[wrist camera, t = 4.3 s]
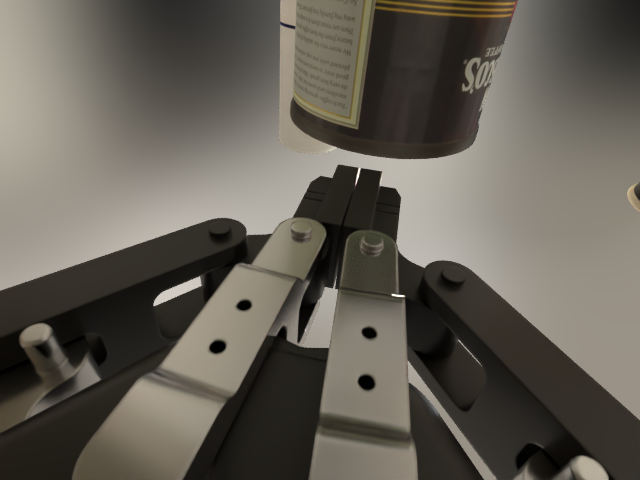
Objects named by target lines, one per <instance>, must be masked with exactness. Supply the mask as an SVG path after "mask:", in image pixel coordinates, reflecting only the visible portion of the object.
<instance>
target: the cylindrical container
mask: <svg viewBox="0 0 640 480" xmlns="http://www.w3.org/2000/svg"><path fill="white" fill-rule="evenodd" d="M280 5H281V8H280V9H281V10H280V118H279V141H280V143H281V144H282V145H283V146H284V147H286V148H287V149H290V150H292V151H296V152H300V153H309V154H316V153H317V154H318V153H325V152H329V151H332V150H334V149H336V148H337V147H334V146H331V145H328V144H326V143H323V142H321V141H318V140H316V139H314V138H312V137H310V136H309V135H307V134H305V133H304V132H302V131H301V130H300V129H299V128H298V127H297V126H296V125H295V124H294V123H293V122H292V119H291V117H290V104H291V100H292V98H293V83H294V56H295V26H296V0H280Z"/></svg>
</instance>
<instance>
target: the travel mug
mask: <svg viewBox="0 0 640 480" xmlns="http://www.w3.org/2000/svg"><path fill="white" fill-rule="evenodd" d="M628 199H629V201H630V203H631V204H632V206H633V207H634V208H635V209H636V210H637V211H639V212H640V182H639V183H637V184H635V185H633V186H632V187H631V188H630V189H629V190H628Z"/></svg>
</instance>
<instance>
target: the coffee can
mask: <svg viewBox="0 0 640 480" xmlns="http://www.w3.org/2000/svg"><path fill="white" fill-rule="evenodd" d="M517 1H518V0H296V26H295V56H294V83H293V98H292V100H291V104H290V117H291V119H292V122H293V123H294V124H295V125H296V126H297V127H298V128H299V129H300V130H301V131H302V132H304V133H305V134H307V135H309V136H310V137H312V138H314V139H316V140H318V141H321V142H323V143H326V144H328V145H331V146H334V147H337V148H340V149H344V150H347V151H351V152H356V153H361V154H365V155H371V156H377V157H386V158H396V159H428V158H438V157H444V156H448V155H452V154H456V153H459V152H462V151H464V150H466V149H467V148H469V147H470V146H471V145H472V144H473V142H474V141H475V138H476V135H477V132H478V128H479V124H478V121H479V118H480V115H481V112H482V108H483V105H484V103H485V99H486V96H487V94H488V90H489V88H490V84H491V81H492V78H493V75H494V72H495V69H496V66H497V63H498V60H499V57H500V54H501V51H502V47H503V44H504V41H505V38H506V35H507V32H508V29H509V26H510V23H511V20H512V17H513V13H514V10H515V8H516V5H517Z"/></svg>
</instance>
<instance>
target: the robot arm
mask: <svg viewBox="0 0 640 480" xmlns="http://www.w3.org/2000/svg"><path fill="white" fill-rule="evenodd" d="M359 171H360V174H359ZM381 177H382V171H375V170H369V169H363V168H361V170H360V168H357V167H351V166H344V165H338V166H337V168H336V171H335V173H334V176H333V178H329V177H323V176H320V177H318V178H317V179H315V180H314V181H312V182H311V183H310V185H309V187H308V189H307V192H306V193H305V195H304V197H303V199H302V201H301V203H300V205H299V207H298V209H297V211H296V213H295V214H294V216H293V218H290V219H287V220H285V221H283V222H281V223H280V224H279V225H278V226H277V228H276V229H275V231H274V232H273V233H272V234H267V235H247V231H246V228H245V226H244V225H243V224H242V223H240V222H239V221H236V220H233V219H228V218H217V219H211V220H208V221H205V222H202V223H199V224H196V225H193V226H190V227H187V228H184V229H181V230H178V231H176V232H172V233H169V234H167V235H164V236H161V237H158V238H155V239H152V240H149V241H146V242H143V243H140V244H137V245H134V246H131V247H128V248H125V249H123V250H120V251H116V252H113V253H111V254H108V255H105V256H102V257H99V258H96V259H93V260H90V261H87V262H84V263H81V264H78V265H75V266H73V267H69V268H66V269H63V270H60V271H57V272H54V273H52V274H49V275H46V276H43V277H40V278H37V279H34V280H31V281H28V282H25V283H22V284H19V285H16V286H13V287H10V288H7V289H4V290H1V291H0V480H484V479H483V478H482V476H481V475H480V473H479V472H478V470H477V469H476V467H475V466H474V464H473V463H472V461H471V460H470V458H469V457H468V456H467V454H466V453H465V451H464V450H463V448H462V447H461V445H460V444H459V442H458V441H457V439H456V438H455V437H454V435H453V434H452V432H451V431H450V429H449V428H448V426H447V425H446V423H445V422H444V420H443V419H442V418H441V416H440V415H439V413H438V412H437V410H436V409H435V408H434V406H433V405H432V404H431V403H430V401H429V400H428V399H427V398H426V397H425V396H424V395H423V394H422V393H421V392H420V391H419V390H418V389H417V388H416V387H414V386H413V385H412V384H410V383H409V382H408V361H409V362H410V363H411V365H412V366H413V368H414V369H415V370H416V371H417V373H418V374H419V376H420V377H421V378H422V380H423V381H424V382H425V384H426V385H427V386H428V388H429V389H430V390H431V392H432V393H433V394H434V396H435V397H436V398H437V400H438V401H439V402H440V404H441V405H442V407H443V408H444V409H445V410H446V412H447V413H448V415H449V416H450V417H451V418H452V420H453V421H454V422H455V424H456V425H457V427H458V428H459V429H460V431H461V432H462V433H463V434H464V436H465V437H466V439H467V440H468V441H469V443H470V444H471V445H472V447H473V448H474V450H475V451H476V452H477V453H478V455H479V456H480V458H481V459H482V460H483V462H484V463H485V464H486V466H487V467H488V468H489V470H490V471H491V472H492V474H493V475H494V476H495V478H496V479H497V480H640V420H639V419H638V418H637V417H636V416H634V415H633V414H632V413H631V412H630V411H629V410H627V408H625V407H624V406H623V405H622V404H621V403H620V402H619V401H618V400H616V399H615V398H614V397H613V396H612V395H611V394H610V393H609V392H607V391H606V390H605V389H604V388H603V387H602V386H601V385H600V384H598V383H597V382H596V381H595V380H594V379H593V378H592V377H591V376H589V375H588V374H587V373H586V372H585V371H584V370H583V369H582V368H580V367H579V366H578V365H577V364H576V363H575V362H574V361H573V360H571V359H570V358H569V357H568V356H567V355H566V354H565V353H564V352H563V351H561V350H560V349H559V348H558V347H557V346H556V345H555V344H554V343H552V342H551V341H550V340H549V339H548V338H547V337H546V336H545V335H543V334H542V333H541V332H540V331H539V330H538V329H537V328H536V327H534V326H533V325H532V324H531V323H530V322H529V321H528V320H527V319H525V318H524V317H523V316H522V315H521V314H520V313H519V312H518V311H516V310H515V309H514V308H513V307H512V306H511V305H510V304H509V303H508V302H506V301H505V300H504V299H503V298H502V297H501V296H500V295H499V294H497V293H496V292H495V291H494V290H493V289H492V288H491V287H490V286H488V285H487V284H486V283H485V282H484V281H483V280H482V279H481V278H479V277H478V276H477V275H476V274H475V273H474V272H472V271H471V270H470V269H469V268H467V267H465V266H463V265H461V264H458V263H455V262H452V261H435V262H432V263H430V264H429V265H427V266H426V267H425V268H423V267H421V266H418V265H416V264H414V263H412V262H410V261H409V260H407V259H406V258H405V257H403V256H402V255H401V254H400V252H399V251H398V247H397V244H396V239H397V231H398V230H397V229H398V221H399V211H400V202H401V197H400V195H399V194H398V192H397V190H396V189H395V188H389V187H383V186H380V183H381ZM199 276H200V278H201V284H202V286H201V287H198V288H196V289H194V290H191V291H189V292H187V293H185V294H182V295H180V296H177V297H175V298H173V299H171V300H168V301H166V302H164V303H161V304H159V305H157V306H153V303H154V300H155V299H156V297H157V296H158V295H159V294H160V293H161V292H163V291H165V290H168V289H170V288H172V287H174V286H177V285H179V284H182V283H184V282H187V281H189V280H191V279H194V278H196V277H199ZM336 276H337V279H336ZM335 279H336V286H335V289H338V294H337V301H336V307H335V314H334V321H333V327H332V334H331V340H330V346H329V348H304V347H302V346H303V344H304V342H305V339H306V337H307V334H308V332H309V330H310V327H311V325H312V323H313V320H314V318H315V315H316V313H317V311H318V308H319V305H320V298H321V297H322V294H323V291H324V288H325V287H329V288H333V286H334V283H335ZM458 340H460V341H461V342H462V343H463V345H464V346H465V347H466V348H467V349H468V350H469V351H470V352H471V353H472V354H473V356H474V357H475V358H476V359H477V360H478V361H479V362H480V364H481V365H482V367H483V368H482V367H481V365H480V364H479V363H478V362H477V361H476V360H475V359H474V358H473V357H472V355H471V354H470V353H469V352H468V351H467V350H466V349H465V348H464V347H463V346H462V345H461V343H460V342H459V341H458Z"/></svg>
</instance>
